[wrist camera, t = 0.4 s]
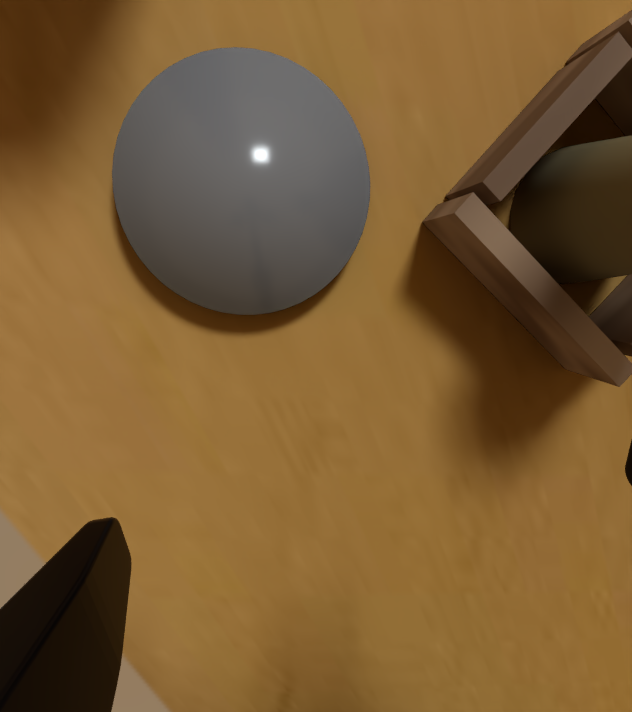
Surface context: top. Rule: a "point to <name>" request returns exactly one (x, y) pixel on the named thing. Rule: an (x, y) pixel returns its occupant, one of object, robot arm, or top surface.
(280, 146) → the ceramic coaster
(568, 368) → the frame
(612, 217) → the cork
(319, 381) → the top surface
